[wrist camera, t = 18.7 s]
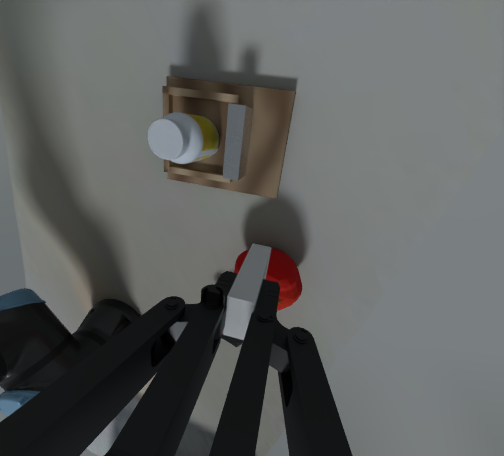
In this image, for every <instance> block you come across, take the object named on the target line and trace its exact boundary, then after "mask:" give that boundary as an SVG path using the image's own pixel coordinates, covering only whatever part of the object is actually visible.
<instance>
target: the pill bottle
mask: <svg viewBox="0 0 504 456" xmlns="http://www.w3.org/2000/svg"><path fill="white" fill-rule="evenodd" d="M148 142H149V145H150V147H151V149H152V151H153V152H154V153H155V154H156V155H157V156H158V157H160V158H162V159H166V160H170V161H172V162H175V163H178V164H187V163H191V162H195V161H199V160H203V159H207V158H209V157H211V156H213V155H214V154H215V153H216V152H217V151H218V149H219V146H220V142H221V137H220V132H219V129H218V127H217V126H216V124H215V123H214V122H213V121H212V120H210V119H209V118H207V117H203V116H198V115H192V114H186V113H180V112H174V113H170V114H168V115H166V116H165V117H163V118H162V119H158V120H156V121H154V122H153V123H152V124H151V126H150V128H149V130H148Z"/></svg>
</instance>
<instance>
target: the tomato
mask: <svg viewBox="0 0 504 456" xmlns="http://www.w3.org/2000/svg"><path fill="white" fill-rule="evenodd" d="M249 250H250V249H249ZM249 250H246V251H244V252H243V253H241V254H240V255H239V256H238V258H237V260H236V264H235V271H234V273H237V274H238V273H239V271H240V269H241V266H242V264H243V262H244V260H245V258H246V256H247V254H248V252H249ZM266 280H270V281H274V282H278V283H279V286H280V294H279V300H278V307H277V310H281V309H283V308H286V307H288V306H291V305H292V304H293V303H294V302H295V301H296V300H297V299H298V298H299V296H300V295H301V292H302V283H301V279H300V275H299V271H298V268H297V266H296V264H295V263H294V261H293V260H292V259H291V258H290V257H289V256H288V255H287V254H286V253H285V252H283V251H280V250H278V249H273V248H271V253H270V258H269V264H268V269H267V275H266Z"/></svg>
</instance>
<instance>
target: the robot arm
mask: <svg viewBox="0 0 504 456" xmlns="http://www.w3.org/2000/svg"><path fill="white" fill-rule="evenodd" d="M270 253H271V247H268V246H263V245H258V244H254V243H252V246H251V248H250V250H249V252H248V254H247V256H246V258H245V260H244V262H243V264H242V266H241V269H240V271H239V273H238V274H237V273H233V272H229V271H226V272H224V273H223V274H221V276H220V278H219V279H218V281H217V283H216V284H215V285H207V286H205V287H204V288H203V289H202V290H201V302H200V303H198V304H185V302H184V300H183V299H182V298H180V297H177V296H171V297H167V298H165V299H163V300H162V301H160V302H159V303H158V304H156V305H155V306H154V307H152V308H151V309H150V310H149V311H147V312H146V313H145V314H143V315H142V316H141V317H140V316H139V315H138V313H137V312H136V311H135V310H134V309H132V308H131V307H130V306H128V305H127V304H125V303H123V302H120V301H117V300H112V299H107V300H102V301H100V302H99V303H98V304H96V305H95V306H94V307H93V308H92V309H91V310H90V311H89V313H88V314H87V316H86V317H85V319H84V320H83V322H82V323H81V325H80V326H79V328H78V329H77V331H76V332H74V333H73V334H71V333H70V332H69V331H68V330H67V328H66V327H65V326H64V325H63V324H62V323H61V322H60V320H59V319H58V318H57V317H56V316H55V315H54V313H53V312H52V311H51V310H50V309H49V308H48V306H47V305H46V304H45V303H46V302H45V301H44V300H42V299H41V298H40V297H39V296H38V295H37V294H36V293H35V292H34V291H33V290H31V289H26V288H24V289H19V290H15V291H12V292H10V293H7V294H4V295H2V296H0V386H1V387H2V388H3V389H4V390H5V392H3V393H2V394H0V411H1V412H2V413H3V414H5V415H6V416H7V418H5V419H4V420H3V421H1V422H0V456H80V454H81V453H82V452H83V451H84V450H85V449H86V448H87V447H88V446H89V445H90V444H91V443H92V442H93V441H94V439H95V438H96V437H97V436H98V435H99V434H100V433H101V432H102V431H103V430H104V429H105V428H106V427H107V425H108V424H109V423H110V422H111V421H112V420H113V419H114V418H115V417H116V416H117V415H118V414H119V413H120V412H121V410H122V409H123V408H124V407H125V406H126V405H127V404H128V403H129V402H130V401H131V400H132V399H133V398H134V396H135V395H136V394H137V393H138V392H139V391H140V390H141V389H142V388H143V387H144V386H145V385H146V384H147V382H148V381H149V380H150V379H151V378H152V377H153V376H154V375H155V374H156V373H157V374H156V375H155V377H154V378H153V380H152V382H151V383H150V385H149V387H148V388H147V390H146V391H145V393H144V395H143V396H142V398H141V400H140V401H139V403H138V404H137V406H136V408H135V409H134V411H133V413H132V414H131V416H130V417H129V419H128V421H127V422H126V424H125V426H124V427H123V429H122V430H121V432H120V434H119V435H118V437H117V439H116V440H115V442H114V443H113V445H112V447H111V448H110V450H109V451H108V452H107V453H106V454H105V455H104V456H175V454H176V451H177V449H178V446H179V444H180V441H181V439H182V436H183V434H184V431H185V429H186V426H187V424H188V421H189V419H190V416H191V414H192V411H193V409H194V406H195V404H196V401H197V399H198V396H199V394H200V391H201V389H202V386H203V384H204V381H205V379H206V376H207V374H208V371H209V369H210V367H211V364H212V362H213V359H214V357H215V354H216V352H217V349H218V347H219V344H220V340H221V334H222V332H223V335H226V336H230V337H234V338H237V339H241V340H244V341H243V344H242V347H241V351H240V354H239V357H238V361H237V364H236V367H235V371H234V374H233V378H232V381H231V384H230V388H229V391H228V394H227V398H226V401H225V404H224V408H223V411H222V414H221V418H220V421H219V424H218V428H217V431H216V434H215V438H214V441H213V444H212V448H211V451H210V455H209V456H255V450H256V444H257V438H258V431H259V425H260V418H261V412H262V406H263V399H264V393H265V386H266V380H267V374H268V367H269V365H270V366H271V367H273V368H275V369H276V370H278V376H279V384H280V391H281V398H282V405H283V412H284V420H285V427H286V434H287V441H288V449H289V456H352V453H351V450H350V447H349V444H348V441H347V438H346V435H345V432H344V429H343V426H342V423H341V420H340V417H339V414H338V411H337V407H336V404H335V401H334V398H333V395H332V392H331V389H330V386H329V384H328V380H327V377H326V374H325V371H324V368H323V365H322V362H321V359H320V356H319V353H318V350H317V347H316V344H315V341H314V338H313V336H312V334H311V333H310V332H308V331H307V330H305V329H304V328H300V327H293V328H291V329H290V330H289V329H287V328H285V327H284V326H282V325H281V324H280V323H279V321H278V320H277V317H276V313H277V307H278V300H279V294H280V286H279V283H278V282H274V281H270V280H266V275H267V269H268V264H269V258H270ZM223 329H224V331H223Z"/></svg>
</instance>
